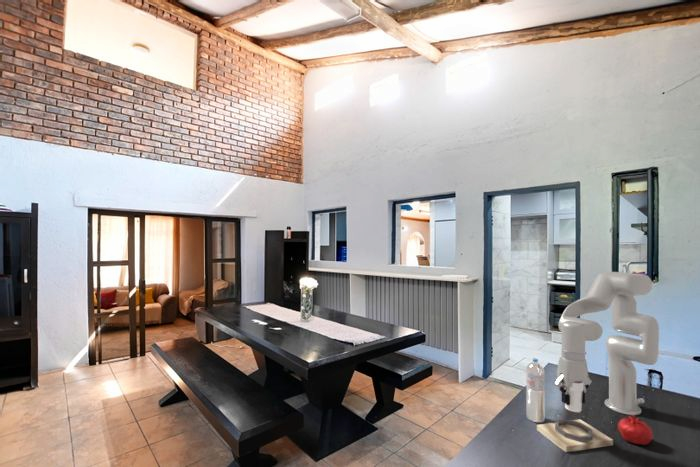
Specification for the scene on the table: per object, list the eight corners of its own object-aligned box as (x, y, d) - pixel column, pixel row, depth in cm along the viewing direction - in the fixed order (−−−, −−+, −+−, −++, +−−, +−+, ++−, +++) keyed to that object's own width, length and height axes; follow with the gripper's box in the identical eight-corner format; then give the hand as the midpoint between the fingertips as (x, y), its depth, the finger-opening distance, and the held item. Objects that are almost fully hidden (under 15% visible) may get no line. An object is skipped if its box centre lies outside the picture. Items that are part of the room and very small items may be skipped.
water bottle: (547, 424, 138) (547, 362, 138) (529, 422, 140) (528, 361, 139) (541, 415, 145) (541, 356, 145) (524, 413, 146) (523, 355, 146)
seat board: (580, 424, 138) (580, 415, 138) (612, 445, 124) (612, 435, 124) (536, 429, 134) (536, 421, 134) (565, 452, 121) (565, 442, 121)
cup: (581, 406, 131) (581, 377, 131) (585, 414, 125) (585, 384, 125) (561, 403, 134) (561, 374, 134) (564, 411, 128) (564, 381, 128)
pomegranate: (655, 452, 121) (655, 426, 121) (619, 442, 126) (620, 418, 126) (649, 437, 129) (649, 413, 129) (616, 429, 135) (616, 405, 134)
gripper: (583, 350, 135) (583, 395, 135) (545, 353, 131) (545, 400, 131) (601, 356, 127) (601, 405, 127) (561, 360, 124) (561, 409, 124)
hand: (573, 402), depth 129 cm, fingers closed on cup, 5 cm apart
